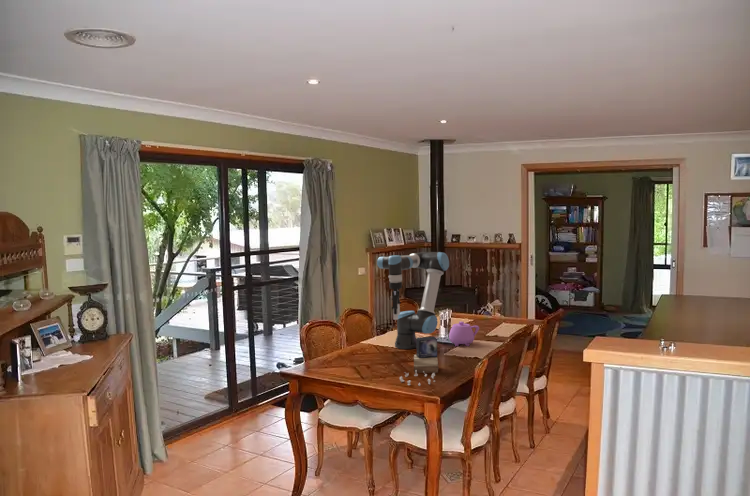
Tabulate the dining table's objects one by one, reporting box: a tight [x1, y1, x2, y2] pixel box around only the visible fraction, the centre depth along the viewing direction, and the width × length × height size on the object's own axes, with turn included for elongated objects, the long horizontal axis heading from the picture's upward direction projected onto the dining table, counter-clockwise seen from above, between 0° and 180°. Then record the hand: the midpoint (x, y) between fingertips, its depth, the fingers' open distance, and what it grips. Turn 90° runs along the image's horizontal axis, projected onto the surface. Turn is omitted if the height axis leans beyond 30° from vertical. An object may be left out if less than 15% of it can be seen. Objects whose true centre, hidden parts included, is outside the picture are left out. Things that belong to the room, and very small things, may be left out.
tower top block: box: [413, 354, 439, 367], centre depth 323 cm, size 10×13×4 cm
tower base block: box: [413, 365, 439, 374], centre depth 323 cm, size 10×13×4 cm
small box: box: [415, 336, 438, 358], centre depth 322 cm, size 11×6×10 cm, turn 101°
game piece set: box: [399, 370, 436, 387], centre depth 304 cm, size 19×20×4 cm
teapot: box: [448, 321, 480, 347], centre depth 383 cm, size 20×20×15 cm
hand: (396, 317), depth 344 cm, fingers open, 13 cm apart
